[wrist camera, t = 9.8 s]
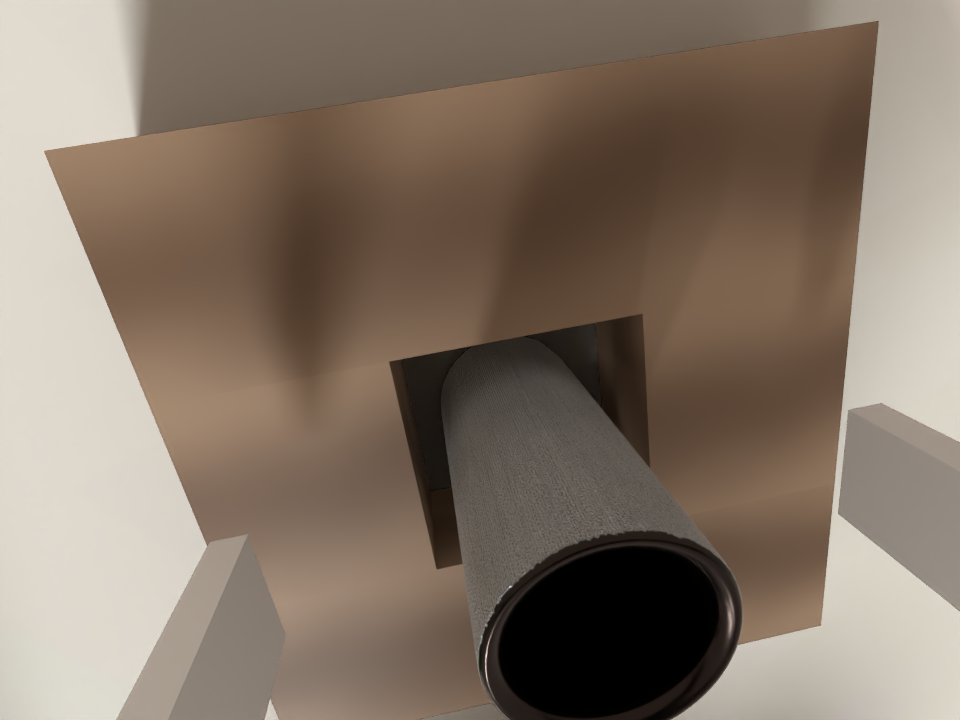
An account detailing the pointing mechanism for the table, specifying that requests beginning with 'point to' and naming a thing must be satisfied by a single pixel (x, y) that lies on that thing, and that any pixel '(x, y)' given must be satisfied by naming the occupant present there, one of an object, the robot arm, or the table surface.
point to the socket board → (491, 324)
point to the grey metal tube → (575, 551)
